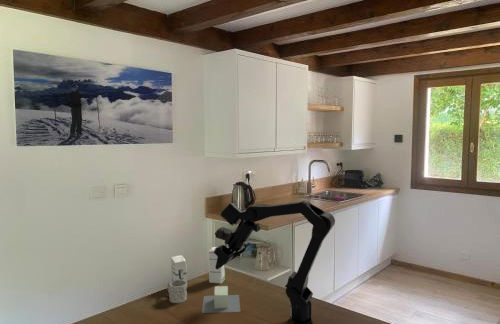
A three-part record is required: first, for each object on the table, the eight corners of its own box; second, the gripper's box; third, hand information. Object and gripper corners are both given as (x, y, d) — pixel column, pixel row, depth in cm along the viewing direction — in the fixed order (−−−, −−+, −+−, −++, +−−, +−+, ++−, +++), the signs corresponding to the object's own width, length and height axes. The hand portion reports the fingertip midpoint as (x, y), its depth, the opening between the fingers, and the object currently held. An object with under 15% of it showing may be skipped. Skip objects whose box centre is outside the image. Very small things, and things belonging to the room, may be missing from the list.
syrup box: (221, 284, 157) (221, 251, 156) (208, 282, 158) (208, 250, 157) (225, 278, 163) (225, 247, 162) (212, 277, 164) (212, 246, 163)
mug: (190, 299, 143) (190, 283, 142) (176, 305, 138) (175, 288, 137) (175, 292, 149) (175, 276, 149) (161, 297, 145) (161, 280, 144)
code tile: (238, 295, 146) (238, 294, 146) (240, 312, 132) (240, 311, 132) (203, 296, 145) (203, 295, 145) (201, 313, 131) (201, 312, 131)
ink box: (171, 283, 158) (170, 256, 157) (182, 281, 160) (182, 254, 160) (175, 290, 150) (175, 262, 150) (187, 288, 153) (187, 260, 152)
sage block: (227, 298, 143) (227, 286, 143) (228, 308, 135) (227, 295, 135) (214, 298, 143) (214, 286, 142) (214, 308, 135) (214, 295, 134)
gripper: (237, 214, 145) (218, 244, 150) (213, 225, 128) (193, 258, 133) (258, 232, 142) (239, 262, 146) (237, 245, 125) (216, 278, 129)
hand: (222, 264), depth 139 cm, fingers open, 9 cm apart
